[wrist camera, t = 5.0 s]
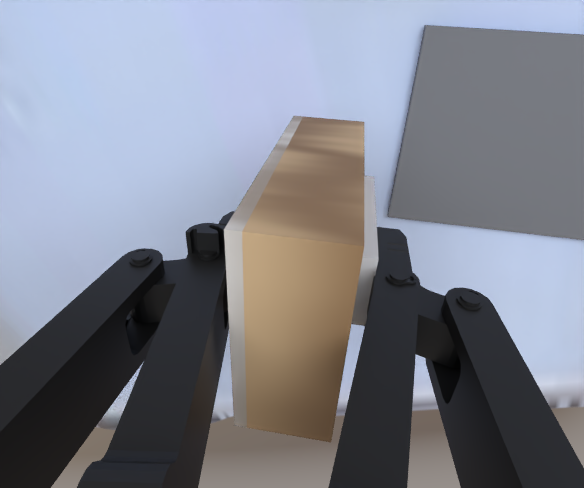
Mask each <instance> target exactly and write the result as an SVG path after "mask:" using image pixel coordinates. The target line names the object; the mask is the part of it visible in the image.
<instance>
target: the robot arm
mask: <svg viewBox="0 0 584 488" xmlns="http://www.w3.org/2000/svg"><path fill="white" fill-rule="evenodd" d="M233 214H234V211H232V212H230V213H228V214H227V215H225V216H223V218H222V219H221V221H220V222H219V224H214V223H202V224H198V225H194V226H192V227H191V228H189V229H188V230H187V231H186V240H187V248H188V255H187V258H186V259H181V260H171V261H163V257H162V254H161V253H160V252H159V251H157V250H154V249H137V250H134V251H131V252H128V253H127V254H125V255H124V256H122V257H121V258H120V259H119V260H118V261H117V262H116V263H114V264H113V265H112V266H111V267H110V268H109V269H108V270H107V271H105V272H104V273H103V274H102V275H101V276H100V277H99V278H98V279H96V280H95V281H94V282H93V283H92V284H91V285H90V286H89V287H87V288H86V289H85V290H84V291H83V292H82V293H81V294H80V295H79V296H77V297H76V298H75V299H74V300H73V301H72V302H71V303H70V304H68V305H67V306H66V307H65V308H64V309H63V310H62V311H61V312H59V313H58V314H57V315H56V316H55V317H54V318H53V319H52V320H50V321H49V322H48V323H47V324H46V325H45V326H44V327H43V328H41V329H40V330H39V331H38V332H37V333H36V334H35V335H34V336H33V337H31V338H30V339H29V340H28V341H27V342H26V343H25V344H24V345H22V346H21V347H20V348H19V349H18V350H17V351H16V352H15V353H13V354H12V355H11V356H10V357H9V358H8V359H7V360H6V361H4V362H3V363H2V364H1V365H0V488H51V486H52V485H53V484H54V482H55V481H56V480H57V478H58V477H59V476H60V474H61V473H62V471H63V470H64V469H65V467H66V466H67V465H68V463H69V462H70V461H71V459H72V458H73V457H74V455H75V454H76V452H77V451H78V450H79V448H80V447H81V446H82V444H83V443H84V442H85V440H86V439H87V437H88V436H89V435H90V433H91V432H92V431H93V429H94V428H95V427H96V425H97V424H98V422H99V421H100V420H101V418H102V417H103V416H104V414H105V413H106V412H107V410H108V409H109V408H110V406H111V405H112V403H113V402H114V401H115V399H116V398H117V397H118V395H119V394H120V393H121V391H122V390H123V388H124V387H125V386H126V384H127V383H128V382H129V380H130V379H131V378H132V376H133V375H134V373H135V372H136V371H137V369H138V368H139V367H140V365H141V364H142V363H143V361H144V363H143V365H142V367H141V370H140V372H139V375H138V377H137V380H136V382H135V384H134V387H133V389H132V392H131V394H130V397H129V399H128V401H127V404H126V406H125V409H124V411H123V414H122V416H121V418H120V421H119V423H118V426H117V428H116V431H115V433H114V436H113V438H112V440H111V443H110V445H109V448H108V450H107V452H106V454H105V456H104V457H103V458H102V459H101V460H100V461H96V462H92V464H91V465H90V466H89V467H88V468H87V469H86V471H85V473H84V474H83V476H82V478H81V480H80V482H79V484H78V486H77V488H198V485H199V479H200V475H201V469H202V464H203V459H204V454H205V449H206V444H207V439H208V434H209V428H210V423H211V418H212V413H213V408H214V403H215V398H216V393H217V387H218V382H219V377H220V372H221V367H222V362H223V357H224V352H225V346H226V341H227V336H228V331H229V315H228V296H227V278H226V259H225V240H224V229H225V227H226V225H227V224H228V222H229V220H230V219H231V217H232V216H233ZM407 245H408V244H407V239H406V236H405V235H404V234H403V233H402V232H401V231H400V230H398V229H390V228H381V227H377V220H376V202H375V184H374V177H372V176H364V251H363V257H362V263H361V269H360V275H359V281H358V287H357V292H356V298H355V304H354V310H353V316H352V322H351V324H355V325H362V326H365V329H364V333H363V338H362V342H361V347H360V351H359V356H358V360H357V364H356V369H355V373H354V378H353V382H352V387H351V391H350V395H349V400H348V404H347V409H346V413H345V418H344V422H343V426H342V431H341V435H340V440H339V444H338V449H337V453H336V458H335V462H334V466H333V471H332V475H331V480H330V484H329V488H407V480H408V465H409V449H410V433H411V417H412V402H413V386H414V370H415V354H417V355H419V356H422V357H424V358H426V365H427V369H428V372H429V376H430V379H431V383H432V386H433V390H434V394H435V397H436V401H437V404H438V408H439V411H440V415H441V418H442V422H443V426H444V429H445V432H446V436H447V439H448V443H449V447H450V450H451V454H452V457H453V461H454V465H455V468H456V471H457V475H458V479H459V482H460V486H461V488H584V468H583V466H582V464H581V463H580V461H579V459H578V457H577V456H576V454H575V452H574V450H573V448H572V446H571V445H570V443H569V441H568V439H567V437H566V436H565V434H564V432H563V430H562V428H561V426H560V425H559V423H558V421H557V419H556V417H555V416H554V414H553V412H552V410H551V408H550V407H549V405H548V403H547V401H546V399H545V398H544V396H543V394H542V392H541V390H540V389H539V387H538V385H537V383H536V381H535V380H534V378H533V376H532V374H531V372H530V371H529V369H528V367H527V365H526V363H525V362H524V360H523V358H522V356H521V354H520V353H519V351H518V349H517V347H516V345H515V344H514V342H513V340H512V338H511V336H510V335H509V333H508V331H507V329H506V327H505V326H504V324H503V322H502V320H501V318H500V317H499V315H498V313H497V311H496V309H495V308H494V306H493V304H492V303H491V301H490V300H489V299H488V298H487V297H485V296H484V295H482V294H481V293H479V292H477V291H474V290H472V289H467V288H454V289H451V290H449V291H448V292H447V294H446V295H445V296H443V295H440V294H437V293H434V292H432V291H429V290H427V289H425V288H424V287H422V286H421V285H420V282H419V278H418V277H417V276H416V275H415V274H414V273H412V267H411V262H410V256H409V253H408V252H409V250H408V246H407Z"/></svg>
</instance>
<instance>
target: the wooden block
mask: <svg viewBox="0 0 584 488" xmlns="http://www.w3.org/2000/svg"><path fill="white" fill-rule="evenodd" d="M224 240H225V259H226V278H227V296H228V315H229V334H230V353H231V372H232V391H233V410H234V425H235V426H240V427H247V428H252V429H258V430H263V431H269V432H275V433H280V434H286V435H292V436H298V437H304V438H309V439H315V440H321V441H326V442H331V440H332V434H333V428H334V422H335V416H336V410H337V404H338V398H339V393H340V387H341V381H342V375H343V369H344V363H345V357H346V351H347V345H348V340H349V334H350V328H351V322H352V316H353V310H354V304H355V298H356V292H357V287H358V281H359V275H360V269H361V263H362V257H363V251H364V122H359V121H347V120H335V119H324V118H312V117H301V116H293V118H292V120H291V121H290V123H289V125H288V126H287V128H286V129H285V131H284V133H283V134H282V136H281V138H280V139H279V141H278V142H277V144H276V146H275V147H274V149H273V151H272V152H271V154H270V155H269V157H268V159H267V160H266V162H265V164H264V165H263V167H262V168H261V170H260V172H259V173H258V175H257V177H256V178H255V180H254V181H253V183H252V185H251V186H250V188H249V190H248V191H247V193H246V194H245V196H244V198H243V199H242V201H241V203H240V204H239V206H238V207H237V209H236V211H235V212H234V214H233V216H232V217H231V219H230V220H229V222H228V224H227V225H226V227H225V229H224Z"/></svg>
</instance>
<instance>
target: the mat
mask: <svg viewBox="0 0 584 488" xmlns="http://www.w3.org/2000/svg"><path fill="white" fill-rule="evenodd" d="M388 217H393V218H401V219H410V220H418V221H427V222H435V223H444V224H452V225H461V226H469V227H478V228H486V229H495V230H503V231H511V232H520V233H528V234H537V235H545V236H554V237H562V238H571V239H579V240H584V35H580V34H563V33H547V32H530V31H513V30H497V29H480V28H464V27H447V26H431V25H425V28H424V33H423V38H422V43H421V48H420V53H419V58H418V63H417V68H416V73H415V79H414V84H413V89H412V94H411V99H410V104H409V109H408V114H407V119H406V124H405V129H404V134H403V140H402V145H401V150H400V155H399V160H398V165H397V170H396V175H395V180H394V185H393V190H392V195H391V201H390V206H389V211H388Z"/></svg>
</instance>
